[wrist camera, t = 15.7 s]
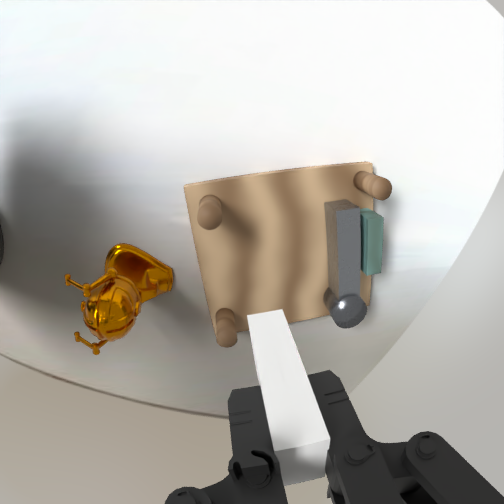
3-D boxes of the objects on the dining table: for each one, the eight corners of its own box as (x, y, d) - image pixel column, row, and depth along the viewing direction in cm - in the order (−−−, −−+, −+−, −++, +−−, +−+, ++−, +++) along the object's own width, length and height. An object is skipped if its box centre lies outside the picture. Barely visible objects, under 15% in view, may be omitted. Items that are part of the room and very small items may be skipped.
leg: (353, 305, 41) (365, 323, 37) (323, 312, 41) (334, 331, 37) (352, 198, 35) (368, 207, 31) (317, 203, 35) (331, 213, 31)
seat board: (215, 329, 42) (216, 360, 36) (184, 184, 34) (178, 197, 28) (365, 300, 43) (384, 325, 37) (366, 161, 35) (393, 169, 30)
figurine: (92, 240, 35) (51, 286, 24) (174, 247, 37) (160, 299, 26) (96, 299, 38) (66, 356, 27) (172, 307, 40) (162, 370, 29)
